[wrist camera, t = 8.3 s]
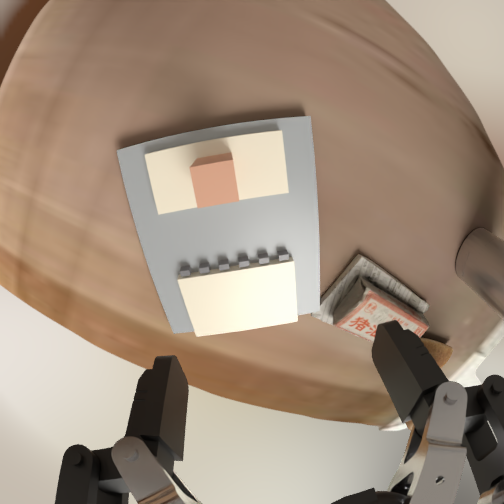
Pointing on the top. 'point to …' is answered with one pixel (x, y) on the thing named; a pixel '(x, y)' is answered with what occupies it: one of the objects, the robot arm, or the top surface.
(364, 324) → the packaged product
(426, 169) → the top surface
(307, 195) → the board
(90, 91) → the top surface
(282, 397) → the top surface
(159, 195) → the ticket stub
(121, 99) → the top surface
